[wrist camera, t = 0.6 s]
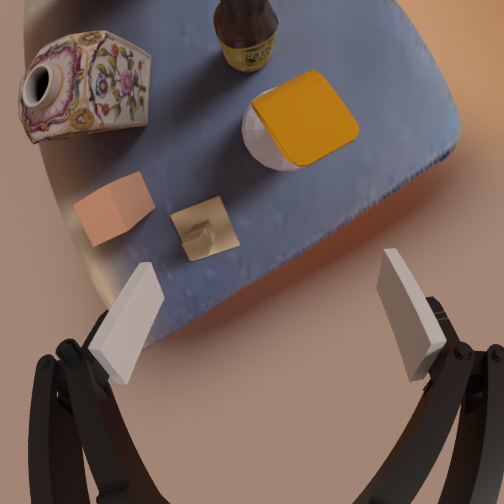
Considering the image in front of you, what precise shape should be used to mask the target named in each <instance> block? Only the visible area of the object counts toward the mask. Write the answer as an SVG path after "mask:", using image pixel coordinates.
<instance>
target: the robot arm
mask: <svg viewBox="0 0 504 504" xmlns="http://www.w3.org/2000/svg"><path fill="white" fill-rule="evenodd" d="M377 291H378V293H379V296H380V298H381V301H382V303H383V306H384V308H385V311H386V314H387V316H388V319H389V321H390V324H391V327H392V330H393V332H394V335H395V338H396V341H397V344H398V347H399V350H400V353H401V355H402V359H403V362H404V365H405V368H406V372H407V375H408V378H409V381H410V382H412V381H417V380H421V379H424V378H425V376H426V374H427V373H428V372H429V374H430V377H431V379H430V380H429V382H428V383H427V385H426V386H425V387H424V389H423V390H424V393H423V395H422V397H421V399H420V401H419V403H418V405H417V407H416V409H415V411H414V413H413V415H412V417H411V419H410V420H409V422H408V424H407V426H406V428H405V430H404V431H403V433H402V435H401V436H400V438H399V440H398V441H397V443H396V445H395V446H394V448H393V449H392V451H391V452H390V454H389V456H388V457H387V459H386V460H385V462H384V463H383V465H382V466H381V467H380V469H379V470H378V472H377V473H376V475H375V476H374V477H373V478H372V480H371V482H369V484H368V485H367V486H366V488H365V489H364V490H363V491H362V493H361V494H360V495H359V497H358V498H357V499H356V500H355V501H354V502H353V503H352V504H411V502H412V501H413V499H414V498H415V496H416V495H417V493H418V491H419V490H420V488H421V487H422V485H423V483H424V482H425V480H426V478H427V476H428V475H429V473H430V471H431V469H432V467H433V465H434V464H435V462H436V460H437V458H438V456H439V454H440V452H441V450H442V447H443V445H444V443H445V441H446V439H447V437H448V434H449V432H450V430H451V427H452V425H453V423H454V420H455V417H456V415H457V412H458V409H459V407H460V404H461V409H460V417H459V423H458V430H457V435H456V440H455V445H454V450H453V454H452V458H451V462H450V466H449V470H448V474H447V477H446V481H445V484H444V487H443V490H442V493H441V496H440V499H439V502H438V504H496V503H497V499H498V495H499V491H500V487H501V483H502V479H503V473H504V348H503V347H502V346H501V345H498V344H493V345H491V346H490V347H489V349H488V350H487V352H486V351H473V349H472V348H471V347H470V346H469V345H468V344H466V343H465V342H461V341H460V340H459V338H458V336H457V334H456V332H455V330H454V328H453V326H452V324H451V322H450V320H449V319H448V317H447V315H446V313H445V312H444V309H443V307H442V306H441V304H440V303H439V302H438V301H437V300H436V299H435V298H434V297H426V298H425V297H424V295H423V293H422V291H421V290H420V288H419V286H418V284H417V282H416V281H415V279H414V278H413V276H412V274H411V273H410V270H409V269H408V267H407V266H406V264H405V262H404V261H403V259H402V257H401V256H400V254H399V253H398V251H397V249H396V248H393V249H384V250H383V256H382V262H381V268H380V273H379V279H378V283H377ZM163 300H164V295H163V293H162V290H161V288H160V285H159V283H158V280H157V277H156V275H155V272H154V269H153V266H152V264H151V262H143V263H139V265H138V266H137V268H136V269H135V271H134V272H133V274H132V276H131V277H130V279H129V280H128V282H127V283H126V285H125V286H124V288H123V289H122V291H121V293H120V294H119V296H118V297H117V299H116V301H115V302H114V304H113V305H112V307H111V309H110V310H106V311H105V312H104V313H103V314H102V315H101V316H100V317H99V318H98V320H97V322H96V323H95V324H96V325H94V327H93V328H92V331H91V332H90V333H89V335H88V337H87V339H86V340H85V342H84V344H83V346H82V347H81V348H80V346H79V345H78V343H77V342H76V341H75V340H74V339H66V340H64V341H62V342H61V343H60V344H59V346H58V347H57V349H56V355H57V356H58V357H59V359H60V360H58V361H56V359H55V358H54V357H53V356H52V355H50V354H48V355H45V356H43V357H42V358H40V360H39V361H38V363H37V366H36V371H35V377H34V384H33V391H32V398H31V407H30V408H31V409H30V419H29V436H28V468H29V485H30V495H31V504H90V500H89V494H88V489H87V483H86V476H85V468H84V460H83V450H82V446H83V449H84V453H85V455H86V459H87V462H88V464H89V467H90V470H91V473H92V475H93V478H94V480H95V482H96V485H97V487H98V490H99V495H98V496H97V497H96V502H97V504H170V503H169V502H168V501H167V500H166V499H165V498H164V497H163V496H162V495H161V494H160V492H159V491H158V489H157V487H156V486H155V484H154V482H153V480H152V479H151V477H150V475H149V473H148V471H147V469H146V468H145V466H144V464H143V462H142V460H141V458H140V456H139V454H138V452H137V450H136V448H135V446H134V443H133V441H132V439H131V437H130V435H129V432H128V430H127V428H126V425H125V423H124V421H123V418H122V416H121V413H120V411H119V408H118V405H117V403H116V400H115V397H114V395H113V392H112V389H111V386H110V384H109V382H108V379H109V376H110V377H111V378H112V379H113V381H114V382H115V383H120V384H125V385H127V384H128V381H129V379H130V376H131V374H132V371H133V369H134V366H135V364H136V361H137V359H138V357H139V354H140V352H141V349H142V347H143V345H144V342H145V340H146V338H147V335H148V333H149V331H150V329H151V326H152V324H153V322H154V320H155V317H156V315H157V313H158V311H159V308H160V306H161V304H162V302H163ZM57 392H58V397H57Z"/></svg>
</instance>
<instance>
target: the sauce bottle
mask: <svg viewBox="0 0 504 504" xmlns="http://www.w3.org/2000/svg"><path fill="white" fill-rule="evenodd" d="M220 1H221V2H220V4H219V5H218V6H217V8H216V10H215V13H214V18H213V19H214V27H215V31H216V35H217V37H218V40H219V43H220V45H221V48H222V51H223V54H224V56H225V59H226V61H227V62H228V63H229V64H230V65H231V66H232V67H233V68H234V69H235V70H237V71H240V72H247V73H248V72H249V73H251V72H255V71H257V70H259V69H261V68H263V67H264V66H265V65H266V64H267V63H268V62H269V60H270V58H271V56H272V51H273V46H274V42H275V38H276V33H277V29H278V19H277V16H276V15H275V13H274V11H273V9H272V7H271V5H270V3H269V1H268V0H220Z"/></svg>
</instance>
